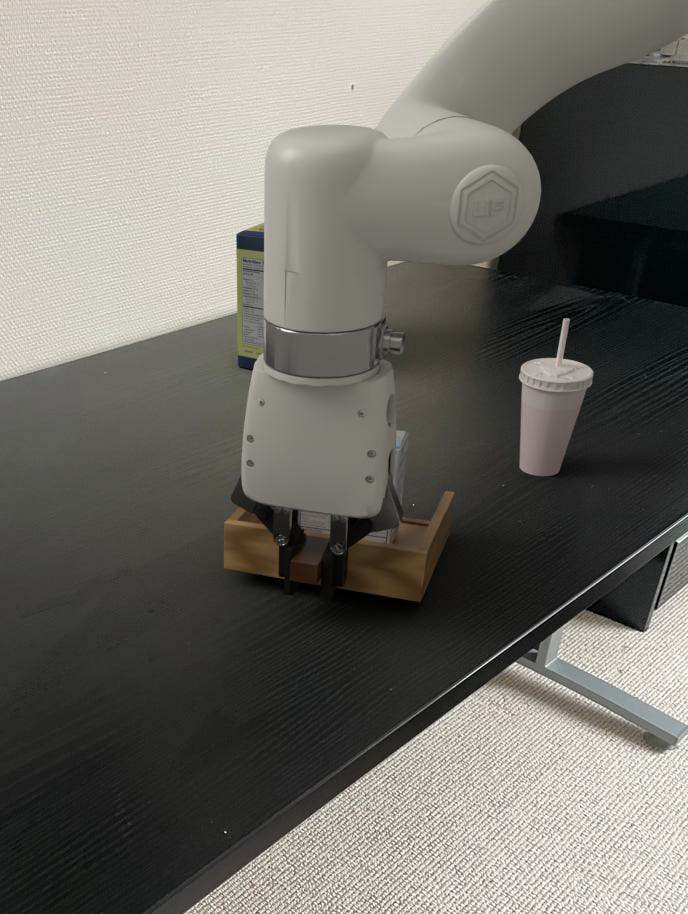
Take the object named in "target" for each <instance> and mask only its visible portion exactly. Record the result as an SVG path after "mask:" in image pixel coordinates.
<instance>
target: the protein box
mask: <svg viewBox="0 0 688 914" xmlns="http://www.w3.org/2000/svg"><path fill="white" fill-rule="evenodd" d="M235 237H236V238H235V243H236V244H235V245H236V246H235V247H236V248H235V249H236V251H235V252H236V315H237V316H236V319H237V320H236V321H237V322H236V323H237V324H236V326H237V328H236V329H237V330H236V331H237V367H239V368H243V369H249V370H253V368H254V364H255V362H256V360H257V359H258V357H259V356H260V355H261V354H263V332H264V222H262V223H258V224H256V225H254V226H251V227H249V228H246V229H243V230H241V231H239V232H238V233H236V235H235Z"/></svg>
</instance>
